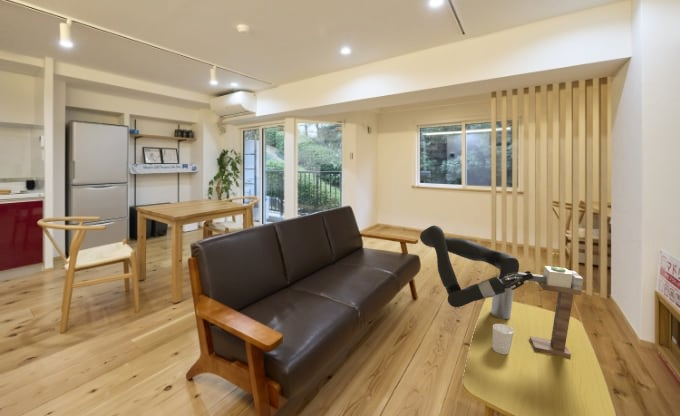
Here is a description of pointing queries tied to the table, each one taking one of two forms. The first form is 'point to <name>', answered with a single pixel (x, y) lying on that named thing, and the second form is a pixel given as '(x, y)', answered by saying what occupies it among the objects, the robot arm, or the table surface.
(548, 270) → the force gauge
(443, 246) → the robot arm
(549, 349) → the wooden pedestal stand
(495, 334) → the white cup
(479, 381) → the table surface
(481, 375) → the table surface
